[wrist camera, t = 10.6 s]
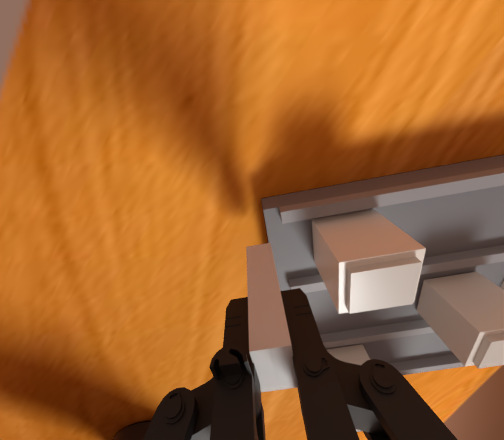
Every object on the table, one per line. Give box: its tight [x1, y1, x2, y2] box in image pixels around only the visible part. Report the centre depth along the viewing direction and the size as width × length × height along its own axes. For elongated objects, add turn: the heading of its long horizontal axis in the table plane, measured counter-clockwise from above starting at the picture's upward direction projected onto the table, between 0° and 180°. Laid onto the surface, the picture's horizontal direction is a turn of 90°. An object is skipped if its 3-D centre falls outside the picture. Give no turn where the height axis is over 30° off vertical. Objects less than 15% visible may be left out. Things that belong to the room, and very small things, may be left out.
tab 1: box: [312, 209, 426, 314], centre depth 13 cm, size 4×4×5 cm
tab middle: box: [417, 272, 504, 368], centre depth 15 cm, size 4×4×5 cm
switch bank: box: [261, 155, 504, 375], centre depth 18 cm, size 20×20×3 cm
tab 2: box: [326, 344, 370, 432], centre depth 19 cm, size 4×4×5 cm
